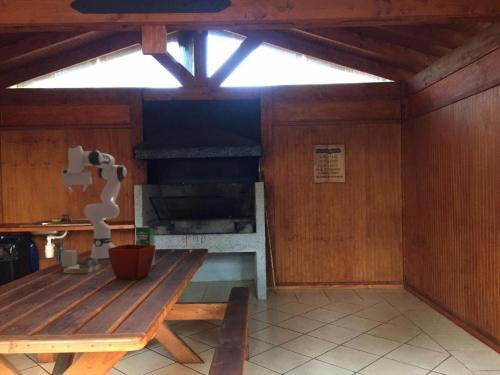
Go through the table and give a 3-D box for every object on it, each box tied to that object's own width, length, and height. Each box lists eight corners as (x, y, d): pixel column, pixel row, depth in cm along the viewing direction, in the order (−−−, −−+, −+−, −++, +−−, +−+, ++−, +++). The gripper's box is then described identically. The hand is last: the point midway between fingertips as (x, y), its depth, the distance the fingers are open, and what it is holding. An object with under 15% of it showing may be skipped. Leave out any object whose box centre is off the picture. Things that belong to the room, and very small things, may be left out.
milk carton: (154, 264, 268) (154, 225, 268) (150, 266, 259) (149, 227, 259) (141, 264, 269) (140, 225, 269) (136, 266, 260) (135, 227, 260)
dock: (78, 267, 259) (78, 257, 259) (101, 268, 257) (101, 257, 257) (63, 273, 243) (63, 262, 243) (87, 273, 241) (86, 262, 241)
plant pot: (156, 274, 236) (156, 244, 236) (138, 281, 217) (138, 249, 217) (127, 273, 241) (126, 244, 241) (107, 280, 223) (106, 248, 223)
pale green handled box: (66, 267, 260) (66, 243, 260) (77, 268, 259) (76, 243, 259) (61, 269, 255) (61, 244, 255) (72, 269, 254) (72, 244, 254)
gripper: (93, 170, 269) (94, 191, 269) (65, 171, 273) (66, 192, 273) (88, 169, 263) (89, 191, 263) (59, 171, 267) (60, 192, 267)
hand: (77, 191), depth 268 cm, fingers open, 8 cm apart
